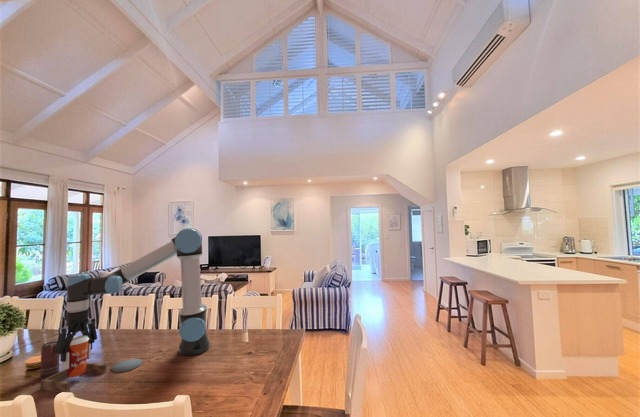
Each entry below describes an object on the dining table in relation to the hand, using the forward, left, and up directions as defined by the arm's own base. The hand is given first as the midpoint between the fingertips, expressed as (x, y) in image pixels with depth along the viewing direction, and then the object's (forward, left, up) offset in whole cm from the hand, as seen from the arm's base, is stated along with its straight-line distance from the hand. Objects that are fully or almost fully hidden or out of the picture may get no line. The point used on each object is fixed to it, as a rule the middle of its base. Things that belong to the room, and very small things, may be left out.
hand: (76, 363), depth 123 cm
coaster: (-11, -15, -7) cm, 20 cm away
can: (+16, -1, -7) cm, 18 cm away
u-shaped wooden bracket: (0, 0, -7) cm, 7 cm away
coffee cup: (0, 0, -5) cm, 5 cm away
